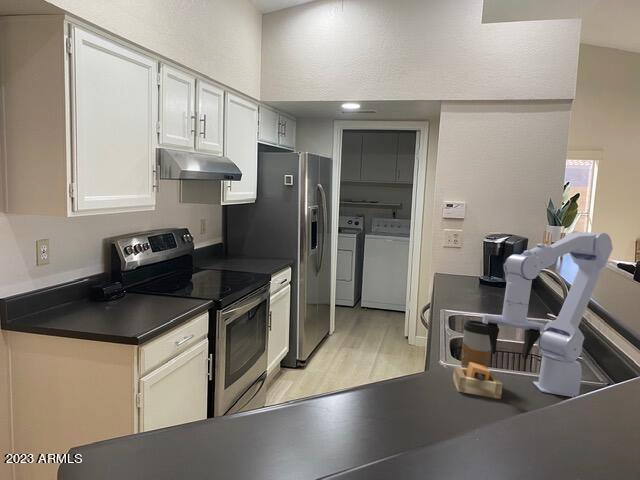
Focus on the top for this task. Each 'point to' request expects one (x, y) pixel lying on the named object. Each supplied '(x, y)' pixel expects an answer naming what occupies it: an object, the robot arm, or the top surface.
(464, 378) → the shelf block
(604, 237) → the robot arm
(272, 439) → the top surface
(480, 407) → the top surface
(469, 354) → the coffee cup
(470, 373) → the orange u-channel
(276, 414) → the top surface
